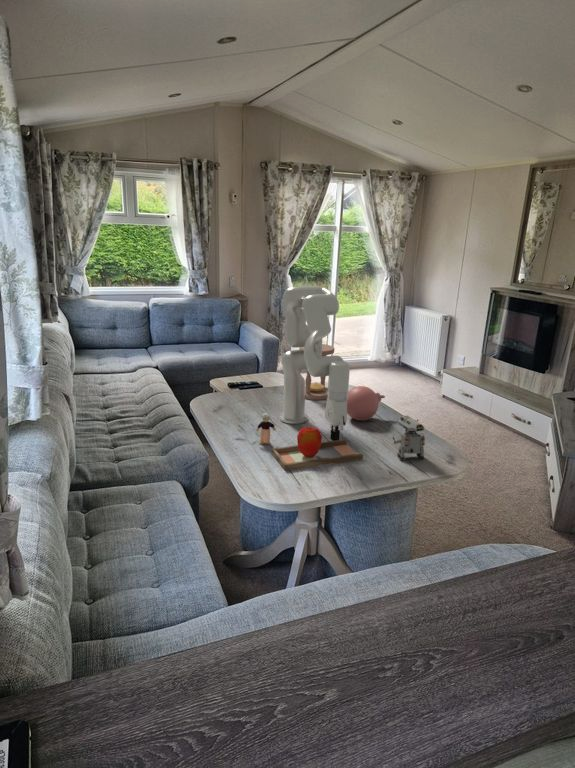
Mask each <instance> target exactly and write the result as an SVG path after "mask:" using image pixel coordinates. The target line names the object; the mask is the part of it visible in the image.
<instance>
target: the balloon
mask: <svg viewBox="0 0 575 768" xmlns="http://www.w3.org/2000/svg"><path fill="white" fill-rule="evenodd" d="M385 398H386V396H385V395H383V394H381V393H379V392H375V391H374V390H373V389H372V388H370V387H367V386H364V385H359V386H355V387H352V388H351V389H349V390H348V399H347V416H349V417H350V418H351V419H353V420H356V421H367V420H369V419H371V418H373V417H374V416H375V415H376V414H377V412H378V409H379V405H380V402H381V401H382V399H385Z"/></svg>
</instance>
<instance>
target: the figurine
mask: <svg viewBox="0 0 575 768" xmlns="http://www.w3.org/2000/svg"><path fill="white" fill-rule="evenodd" d="M397 424H398V426H400V427H402V428H404V429H405V430H404V431H405V432H404V433H401V434H400V439H398V440H396V439H395V436H394V435H393V436H392V439H393V444H394V445H397V444H400V445H399V447H398V451H397V454H396V456H397V458H398V459H399V461H405V454H410V455H411V454H412V455H414V454H416V456H417V457H418V458H419V460H424V459H425V456H424V454H425V449H424V447H425V445H426V444H425V443H426V442H425V440H426V438H425V437H426V436H425V435H424V434H423V433H418V432H423V431H424V430H425V426H424V425H423V424H421V423H420V422H419V419H414V418H412V417H411V416H410V415H402V416H401V417H400V418H399V419H398V421H397Z"/></svg>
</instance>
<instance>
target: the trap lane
mask: <svg viewBox="0 0 575 768" xmlns="http://www.w3.org/2000/svg"><path fill="white" fill-rule="evenodd" d="M347 442H348V441H347V439H346V438H344V439H340V440H336V441H332V440H330V441H322V442H321V446H320V449H319V451H318V453H317V454H316V455H315V456H314V457H305V456H304V455H303V454H302V453H301V452H300V450H299V447H298V444H296V445H288V446H281V447H273V448H271V455H272V456H273V457H274V459H275V460H276V461H277V462H278V464H279V465H280V466H281V468H282V469H283V471H285V472H286V471H293V470H298V469H299V470H300V469H306V468H313V467H319V466H326V465H334V464H341V463H346V462H348V463H349V462H354V461H361V460H363V459H364V454H363V452H360V453H357V452H356V451H355V450H354V449H352V448H351V447H350V446H349V445H347Z"/></svg>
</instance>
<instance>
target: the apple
mask: <svg viewBox="0 0 575 768" xmlns="http://www.w3.org/2000/svg"><path fill="white" fill-rule="evenodd" d="M296 437H297V445H298V447H299V450H300V452H301V453H302V454H303V455H304V456H305V457H314V456H315V455H316V454H317V453H318V451H319V449H320V446H321V442H323V436H322V433H321V431H320V430H319V429H318V428H316V427H314V426H313V427H311V426H305V427H302V428H301V429H300V430H299V431H298V434H297V436H296Z"/></svg>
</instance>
